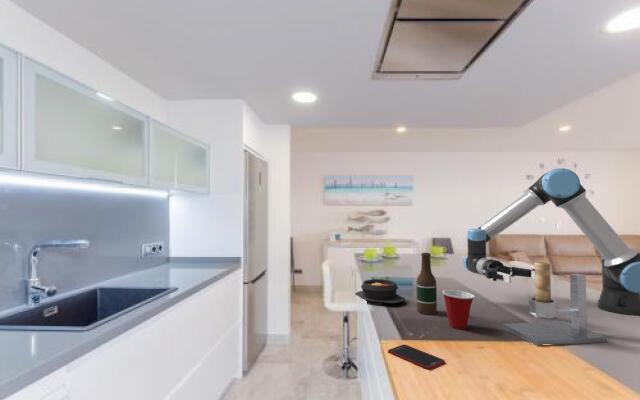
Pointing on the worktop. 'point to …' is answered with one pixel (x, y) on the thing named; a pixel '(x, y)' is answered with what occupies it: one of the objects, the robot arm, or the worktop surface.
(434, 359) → the cell phone
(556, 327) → the cup bracket
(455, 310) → the plastic cup
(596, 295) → the worktop surface
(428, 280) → the beer bottle
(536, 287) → the brown wooden cylinder
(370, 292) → the casserole
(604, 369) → the worktop surface
